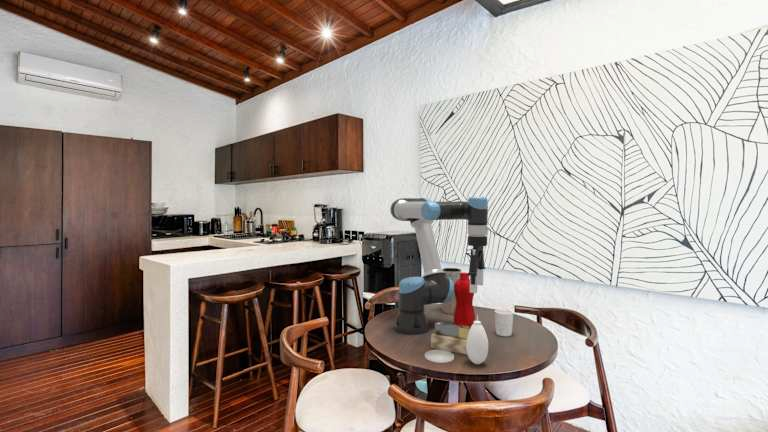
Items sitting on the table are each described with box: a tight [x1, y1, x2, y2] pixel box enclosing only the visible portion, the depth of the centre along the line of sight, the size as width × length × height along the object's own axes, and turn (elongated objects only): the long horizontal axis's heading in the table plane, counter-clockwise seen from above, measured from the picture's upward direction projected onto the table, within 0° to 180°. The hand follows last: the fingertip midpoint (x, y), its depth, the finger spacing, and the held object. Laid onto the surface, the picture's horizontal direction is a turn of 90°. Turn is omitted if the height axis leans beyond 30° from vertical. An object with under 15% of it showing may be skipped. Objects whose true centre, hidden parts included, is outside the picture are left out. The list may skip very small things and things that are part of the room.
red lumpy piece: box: [453, 271, 476, 328], centre depth 178 cm, size 9×11×25 cm
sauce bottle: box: [466, 314, 489, 365], centre depth 134 cm, size 8×8×18 cm
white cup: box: [494, 308, 514, 337], centre depth 165 cm, size 8×8×10 cm
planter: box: [441, 267, 462, 315], centre depth 198 cm, size 10×10×23 cm
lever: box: [434, 321, 470, 339], centre depth 149 cm, size 14×4×4 cm, turn 62°
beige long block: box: [430, 331, 468, 356], centre depth 147 cm, size 20×7×8 cm, turn 62°
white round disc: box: [424, 349, 455, 364], centre depth 140 cm, size 11×11×1 cm
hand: (476, 288), depth 148 cm, fingers open, 13 cm apart
